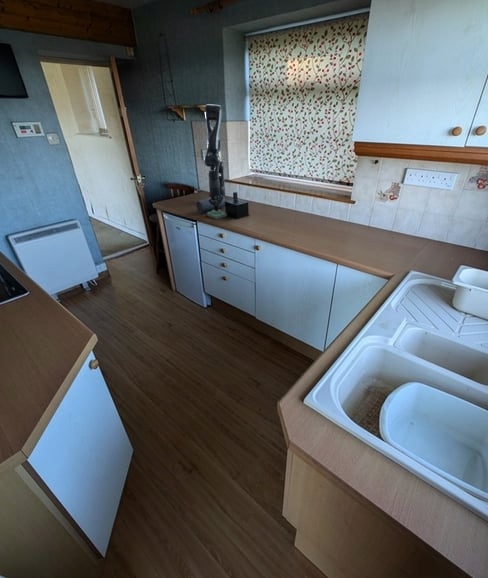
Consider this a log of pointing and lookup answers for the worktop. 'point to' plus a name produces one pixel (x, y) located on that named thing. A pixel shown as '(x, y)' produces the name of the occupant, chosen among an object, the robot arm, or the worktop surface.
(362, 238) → the worktop surface
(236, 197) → the slider
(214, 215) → the button block
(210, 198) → the robot arm
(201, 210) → the bluetooth speaker
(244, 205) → the toaster
